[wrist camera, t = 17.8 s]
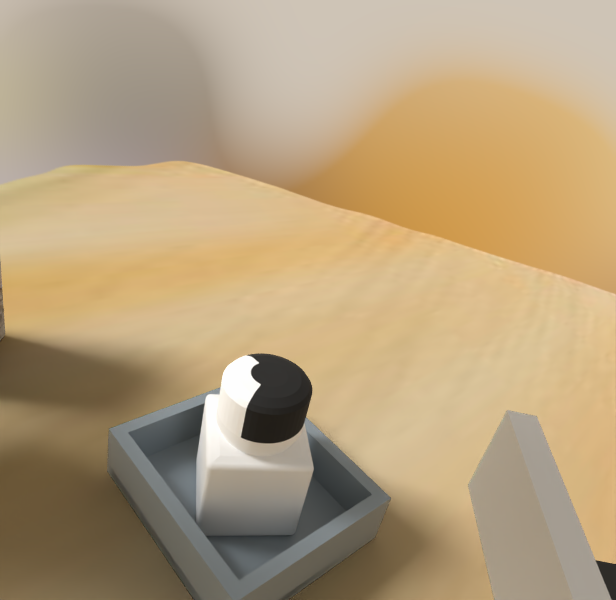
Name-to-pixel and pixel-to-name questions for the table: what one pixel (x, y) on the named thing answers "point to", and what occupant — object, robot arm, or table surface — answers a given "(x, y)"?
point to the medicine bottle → (254, 450)
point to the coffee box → (1, 310)
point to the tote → (239, 549)
